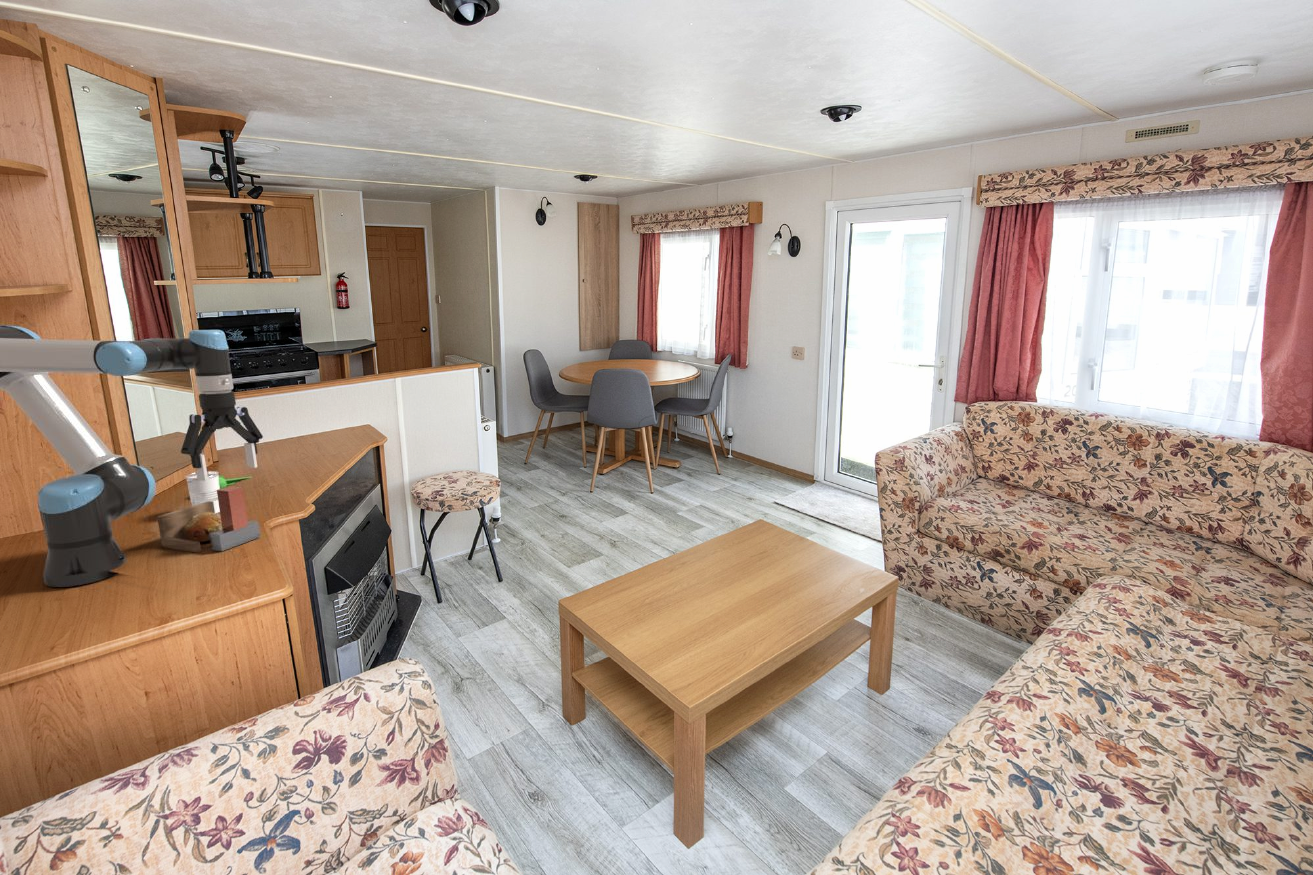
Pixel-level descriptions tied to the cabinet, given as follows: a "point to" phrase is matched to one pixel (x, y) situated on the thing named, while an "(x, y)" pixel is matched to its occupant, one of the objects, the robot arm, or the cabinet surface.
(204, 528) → the bread roll
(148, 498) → the robot arm
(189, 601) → the cabinet surface
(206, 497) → the striped cup with float
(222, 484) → the lime squeezer
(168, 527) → the frame
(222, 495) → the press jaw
